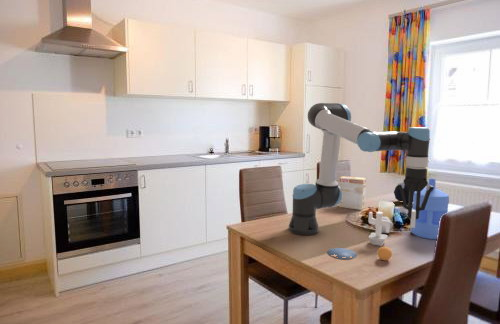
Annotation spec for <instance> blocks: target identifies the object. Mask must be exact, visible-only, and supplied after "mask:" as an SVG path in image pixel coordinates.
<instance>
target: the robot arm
mask: <svg viewBox="0 0 500 324" xmlns="http://www.w3.org/2000/svg"><path fill="white" fill-rule="evenodd" d="M307 120H308V123H309V124H310V125H311V126H312V127H314V128H316V129H318V130H321V132H322V133H323V135H322V136H323V137H322V145H321V154H320V166H319V175H318V179H316V180H315V184H313V183H302V184H298V185H296V186H294V187H293V191H292V213H291V214H292V216H291V219H290V221H289V224H288V231H289V232H291V233H292V234H295V235H299V236H311V235H316V234H318V233H319V228H320V227H319V223H318V221H317V217H316V211H317V210H320V209H326V208H332V207H335V206H338V205H339V202H340V201H341V198H342V191H341V188H340V185H339V182H338V181H337V175H338V174H337V171H338V166H339V165H338V163H339V154H340V146H341V139H345V140H347V141H349V142H351V143H353V144H356V145H357V146H358V148H359V149H360V150H361V151H362V152H365V153H367V152H368V153H372V152H383V151H385V152H387V151H405V152H406V160H405V161H406V162H405V166H406V168H405V175H404V176H405V177H404V179H403V181H402V182H398V183H397V185H398V188H399V189H400V191H401V196H402V201H403V203H402V205H403V208H404V209H405V210H407V218H408V219H410V225H409V226H410V228H411V227H412V228H415V219H418V218H419V211H421V210H424V209H425V207H426V204H427V201H428V198H429V195H430V193H431V191H432V190H433V189H434V187H433V186H431V185H429V184H428V182H429V181H428V179H427V178H428V169H427V168H428V166H429V149H430V148H429V147H430V140H431V139H430V129H429V127H425V126H422V127H421V126H420V127H419V126H417V127H416V126H413V127H411V126H410V127H409V128H408V129H407V131H398V130H396V131H395V130H387V131H375V130H373V129H370V128H368V127H365V126H364V125H363V126H362V125H360V124H358V123H355V122H352V121H351V120H352V113H351V110H350V109H349V107H348V106H347V105H346V104H343V103H338V102H337V103H336V102H335V103H334V102H333V103H332V102H331V103H329V102H327V103H325V102H319V103H315V104H313V105H312V106H310V108H309V109H308V111H307ZM404 185H406V187H407V188H408V190H409V203H408V204H406V199H405V194H404V190H403V188H404ZM424 188H426V189H427V191H426V193H425V196H424V199H423V202H422V205H421V206H420V194H421V191H422V190H423V189H424ZM413 191H416V210H413Z"/></svg>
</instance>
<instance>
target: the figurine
mask: <svg viewBox="0 0 500 324" xmlns="http://www.w3.org/2000/svg"><path fill="white" fill-rule="evenodd" d="M383 213H384V212H382V211H376V212H375V216H376V218H374V217H373V211H369V212H368V224H369V225H373V226H374V225H376V228H375V232H373V231H372V232H371V233H370V234H369V235H368V240H369V241H370V243H371V245H374V246H380V247H383V245H384V243H385V241H386V240H387V238H388V236H389V235H387V234H389V233H390V232H391V230H390V222H389V221H387V220H382V217H384V216H383ZM382 226H385V227H386V232H387V233H386V234H385V233H381V229H382ZM389 231H390V232H389ZM388 232H389V233H388Z"/></svg>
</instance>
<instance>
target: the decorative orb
mask: <svg viewBox="0 0 500 324" xmlns="http://www.w3.org/2000/svg"><path fill="white" fill-rule="evenodd" d="M403 190H404V194H405V199H406V204H407V205H409V190H408V188H407V187H406V185H404V188H403ZM414 192H415V191H413V196H414ZM393 194H394V199H396V200H397V201H398V202H399V201H402V196H401V191H400V189H399V188H398V184H397V185H396V186H395V188H394V191H393Z"/></svg>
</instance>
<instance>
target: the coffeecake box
mask: <svg viewBox="0 0 500 324" xmlns="http://www.w3.org/2000/svg"><path fill="white" fill-rule="evenodd" d="M366 183H367V178H366V177H358V176H357V177H356V176H349V175H347V176H346V175H342V176H340V177H339V187H340V188H341V191H342V198H341V201H340V202H339V204H338V207H339V208H343V209H344V208H345V209H351V210H359V211H363V210H364V209H365V207H366V204H365V203H366V188H367V187H366V186H367V185H366Z"/></svg>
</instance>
